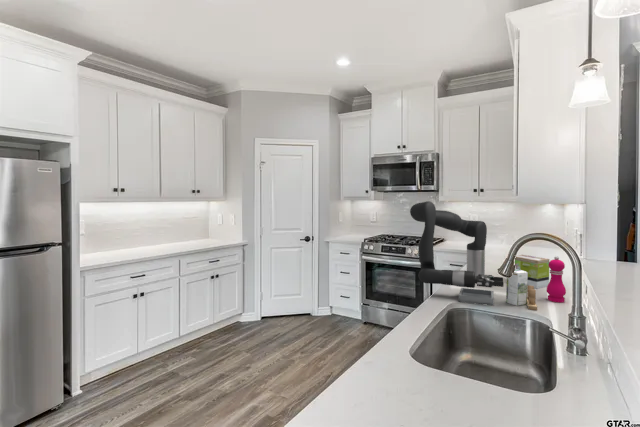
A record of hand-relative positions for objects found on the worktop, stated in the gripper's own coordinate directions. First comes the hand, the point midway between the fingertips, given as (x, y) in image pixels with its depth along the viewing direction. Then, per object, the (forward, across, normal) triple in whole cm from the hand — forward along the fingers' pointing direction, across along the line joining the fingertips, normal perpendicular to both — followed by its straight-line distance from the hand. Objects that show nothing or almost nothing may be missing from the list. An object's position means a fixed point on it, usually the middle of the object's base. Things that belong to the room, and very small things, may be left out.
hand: (503, 282), depth 155 cm
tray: (-11, 0, +9) cm, 14 cm away
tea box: (+13, +40, +9) cm, 43 cm away
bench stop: (+11, 0, +9) cm, 14 cm away
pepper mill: (+21, +12, +9) cm, 26 cm away
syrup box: (+5, 0, +9) cm, 11 cm away
